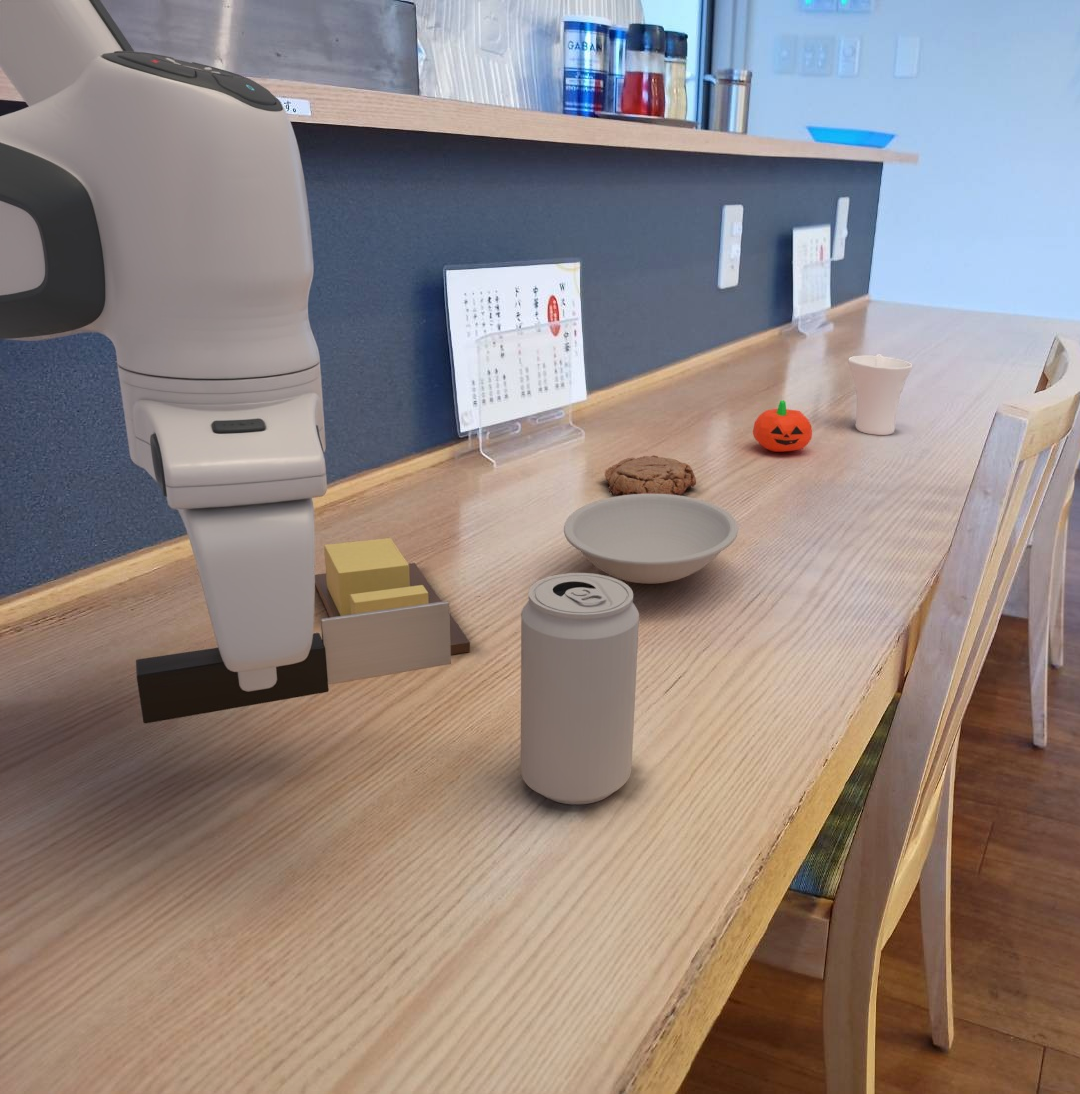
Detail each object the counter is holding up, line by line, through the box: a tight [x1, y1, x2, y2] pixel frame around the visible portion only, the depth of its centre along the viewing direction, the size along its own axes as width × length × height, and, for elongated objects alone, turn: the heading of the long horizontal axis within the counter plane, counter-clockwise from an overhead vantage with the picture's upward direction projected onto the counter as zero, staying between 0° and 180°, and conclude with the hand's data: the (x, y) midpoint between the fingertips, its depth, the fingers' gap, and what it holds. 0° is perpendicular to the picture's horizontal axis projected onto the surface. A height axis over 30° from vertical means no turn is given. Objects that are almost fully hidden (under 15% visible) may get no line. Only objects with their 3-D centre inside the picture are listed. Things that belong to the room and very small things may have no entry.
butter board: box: [315, 562, 471, 656], centre depth 79 cm, size 8×16×1 cm, turn 29°
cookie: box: [604, 454, 697, 497], centre depth 113 cm, size 10×11×3 cm
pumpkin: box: [752, 399, 813, 453], centre depth 131 cm, size 7×8×6 cm
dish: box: [563, 494, 739, 585], centre depth 89 cm, size 18×14×5 cm
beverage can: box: [519, 572, 640, 805], centre depth 58 cm, size 6×6×12 cm
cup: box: [847, 353, 914, 436], centre depth 145 cm, size 9×9×10 cm
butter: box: [323, 537, 410, 616], centre depth 79 cm, size 5×6×4 cm
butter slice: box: [350, 585, 428, 614], centre depth 73 cm, size 5×2×4 cm, turn 120°
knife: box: [135, 600, 452, 725], centre depth 57 cm, size 16×2×4 cm, turn 119°
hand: (253, 670), depth 56 cm, fingers closed on knife, 2 cm apart
